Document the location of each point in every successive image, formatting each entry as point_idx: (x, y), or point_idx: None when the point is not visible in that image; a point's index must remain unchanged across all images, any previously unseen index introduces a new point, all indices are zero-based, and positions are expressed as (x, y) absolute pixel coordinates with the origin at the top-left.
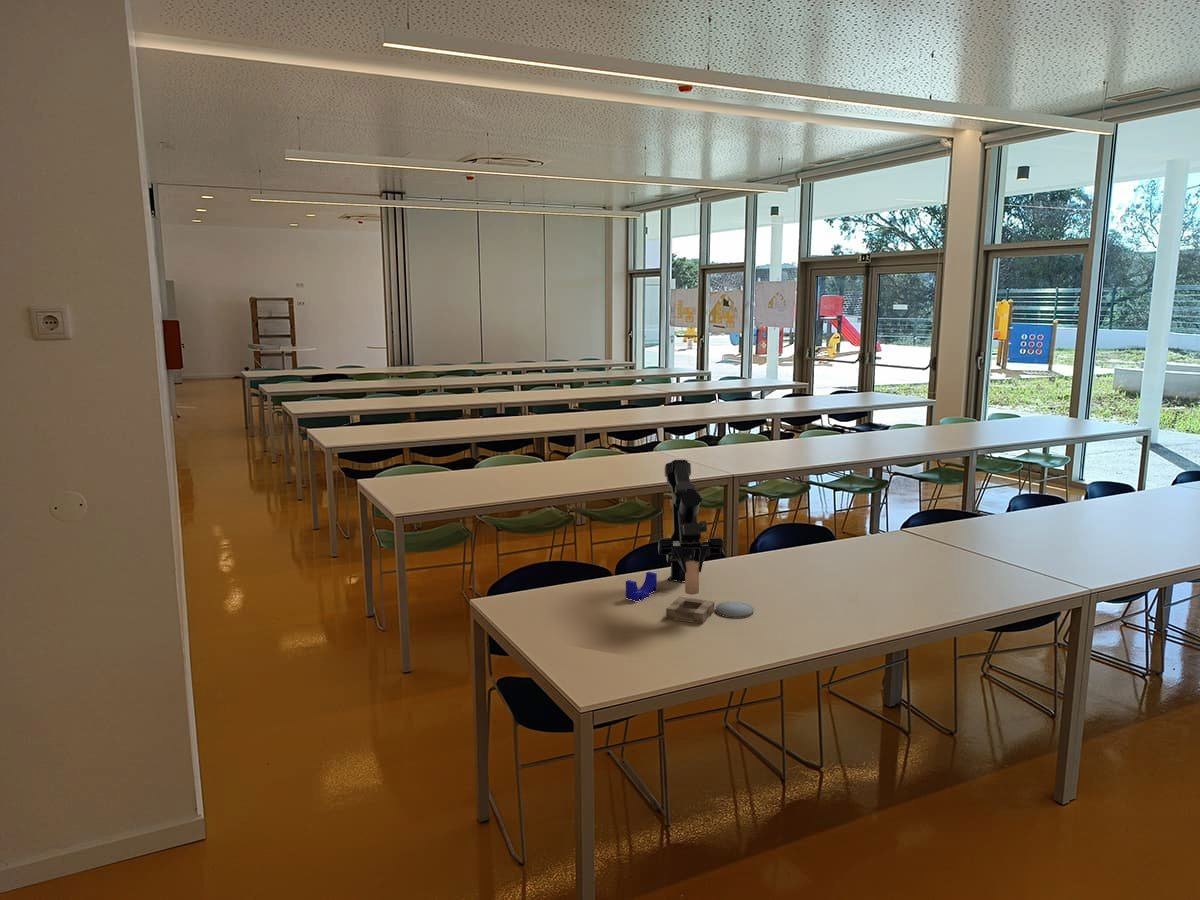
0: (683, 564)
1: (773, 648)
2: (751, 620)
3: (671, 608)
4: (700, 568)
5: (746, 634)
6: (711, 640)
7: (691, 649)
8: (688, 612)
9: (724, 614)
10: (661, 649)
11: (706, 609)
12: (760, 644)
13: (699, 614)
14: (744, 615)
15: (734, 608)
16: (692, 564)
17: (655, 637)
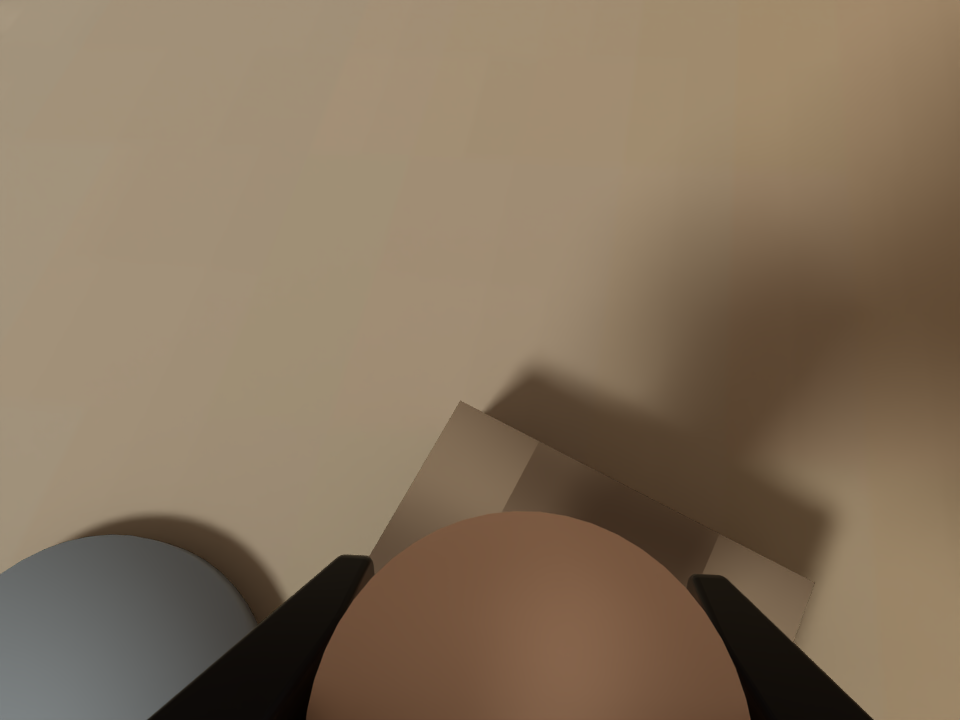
0: (801, 683)
1: (142, 39)
2: (56, 474)
3: (757, 575)
4: (338, 581)
5: (209, 223)
6: (468, 148)
7: (616, 40)
8: (586, 467)
9: (229, 589)
10: (803, 45)
11: (399, 512)
12: (189, 86)
13: (488, 416)
14: (69, 544)
15: (84, 709)
16: (547, 516)
17: (853, 208)
